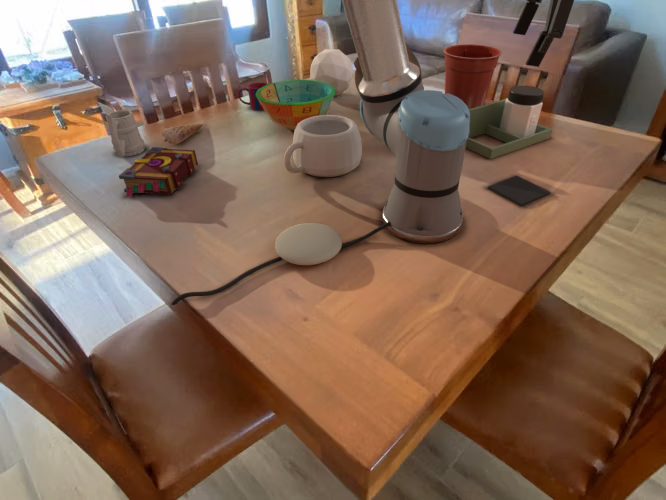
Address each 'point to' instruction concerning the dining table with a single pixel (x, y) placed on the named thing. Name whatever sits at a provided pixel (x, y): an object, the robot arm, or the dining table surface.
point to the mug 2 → (325, 146)
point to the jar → (522, 110)
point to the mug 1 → (124, 133)
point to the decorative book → (159, 171)
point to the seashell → (180, 133)
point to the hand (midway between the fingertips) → (525, 48)
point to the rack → (498, 131)
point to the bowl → (295, 100)
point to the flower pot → (470, 72)
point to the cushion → (308, 244)
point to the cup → (253, 95)
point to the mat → (519, 190)
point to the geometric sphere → (332, 69)
